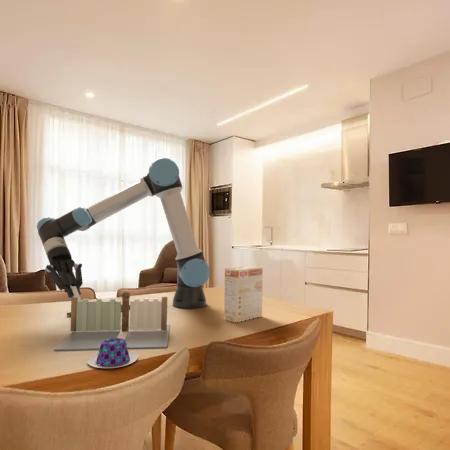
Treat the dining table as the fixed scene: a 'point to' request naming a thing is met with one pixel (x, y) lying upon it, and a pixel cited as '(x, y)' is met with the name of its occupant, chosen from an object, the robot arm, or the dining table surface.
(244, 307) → the coffeecake box
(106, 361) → the pudding
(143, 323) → the fixed panel
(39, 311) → the dining table surface
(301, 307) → the dining table surface
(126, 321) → the hinge post
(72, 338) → the card
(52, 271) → the robot arm
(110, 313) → the panel
